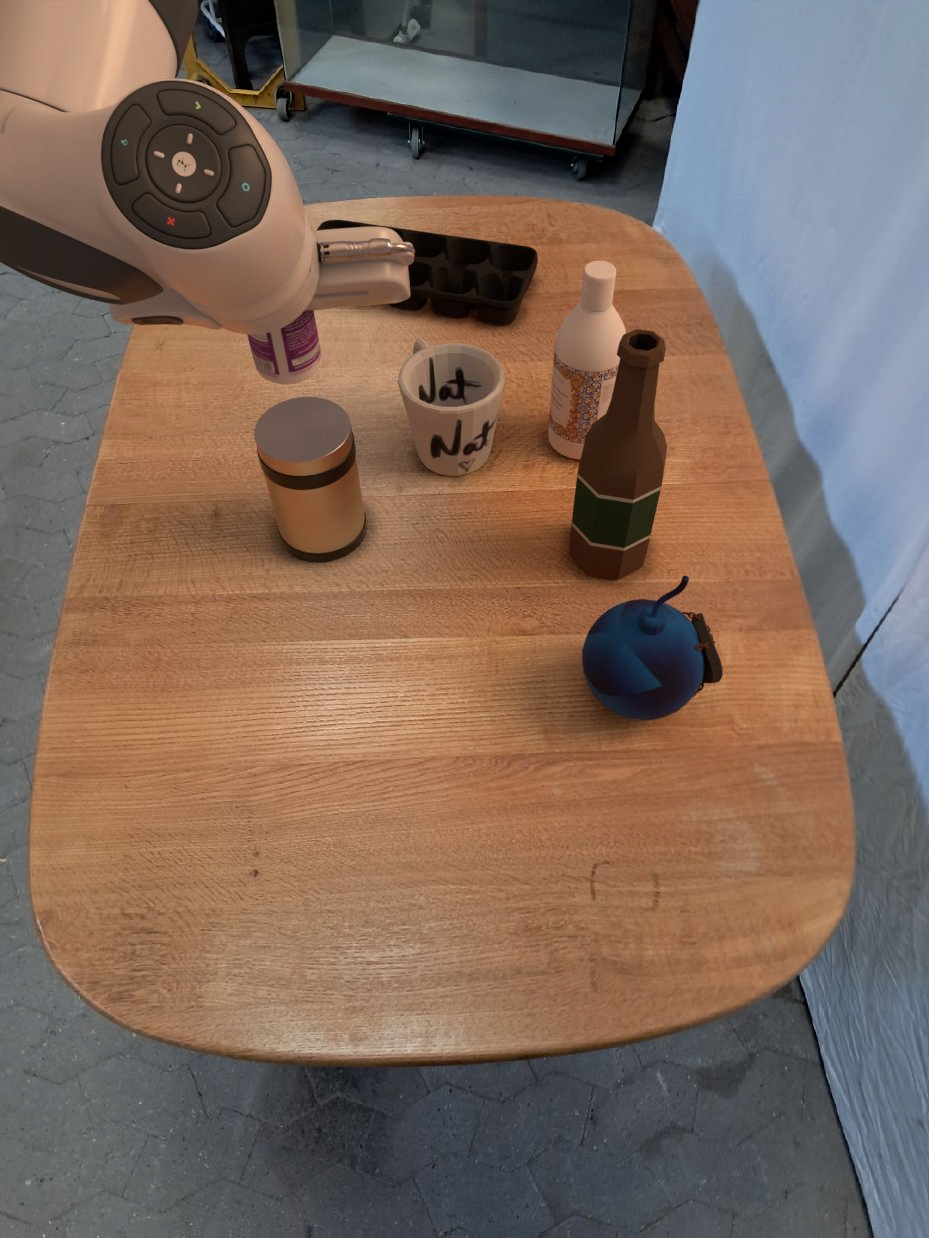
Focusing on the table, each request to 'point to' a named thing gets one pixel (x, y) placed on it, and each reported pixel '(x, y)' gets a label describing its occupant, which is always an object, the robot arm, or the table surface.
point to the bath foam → (585, 361)
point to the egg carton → (462, 274)
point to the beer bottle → (621, 467)
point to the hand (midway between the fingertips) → (276, 302)
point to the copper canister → (312, 477)
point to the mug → (452, 404)
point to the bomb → (649, 657)
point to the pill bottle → (288, 351)
